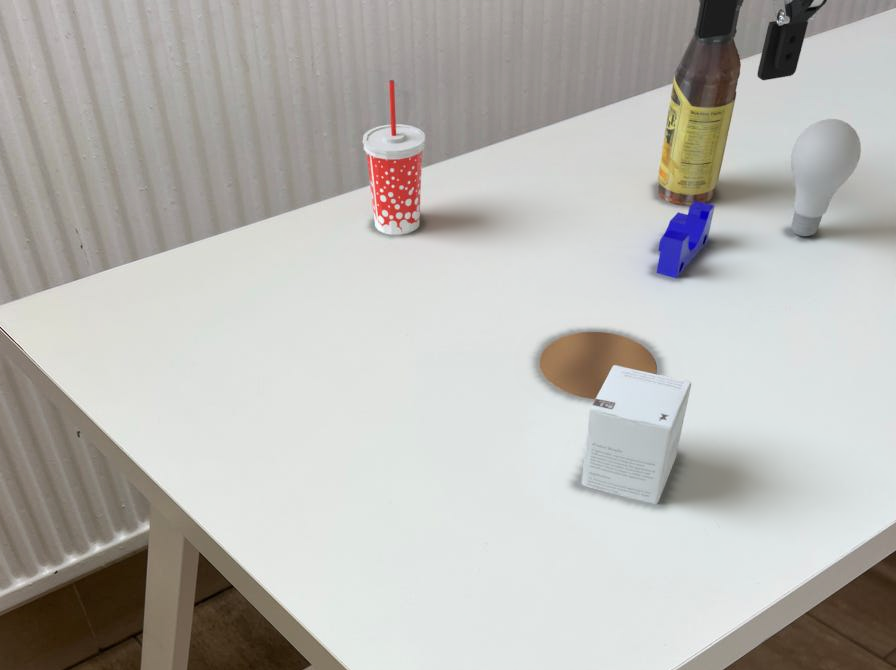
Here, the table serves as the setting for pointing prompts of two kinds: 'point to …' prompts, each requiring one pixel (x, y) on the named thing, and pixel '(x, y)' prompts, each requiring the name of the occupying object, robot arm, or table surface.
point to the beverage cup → (395, 173)
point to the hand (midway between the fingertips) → (742, 55)
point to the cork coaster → (591, 361)
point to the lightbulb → (821, 170)
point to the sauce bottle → (699, 118)
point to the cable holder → (684, 238)
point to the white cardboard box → (634, 433)
